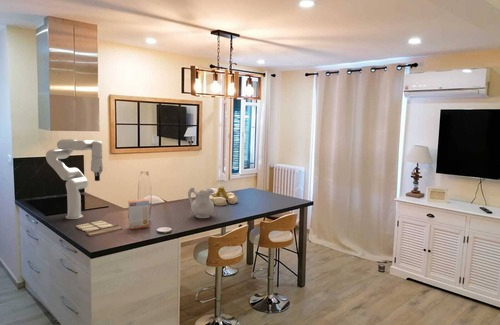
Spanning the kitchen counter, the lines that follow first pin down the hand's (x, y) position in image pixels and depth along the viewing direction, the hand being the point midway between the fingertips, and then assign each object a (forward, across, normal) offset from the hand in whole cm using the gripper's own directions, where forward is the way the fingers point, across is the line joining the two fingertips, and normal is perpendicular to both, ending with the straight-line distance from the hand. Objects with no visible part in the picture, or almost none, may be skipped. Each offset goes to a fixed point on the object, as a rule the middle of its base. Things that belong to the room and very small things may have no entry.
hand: (97, 180), depth 283 cm
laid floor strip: (+32, +28, -9) cm, 43 cm away
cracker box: (+32, +35, +14) cm, 50 cm away
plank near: (+32, +14, -15) cm, 38 cm away
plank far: (+32, +14, -3) cm, 35 cm away
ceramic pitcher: (+32, +43, +69) cm, 87 cm away
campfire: (+33, +15, +120) cm, 125 cm away
